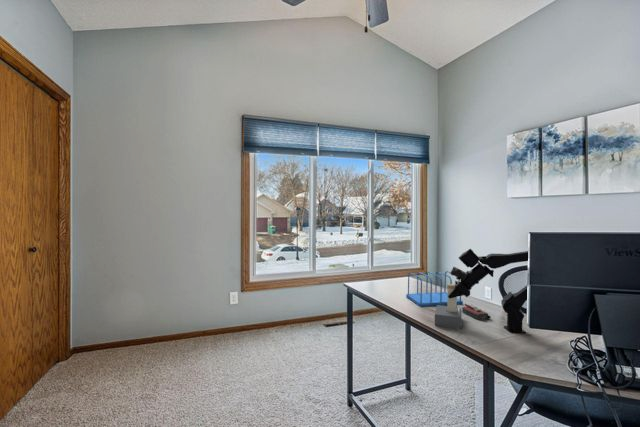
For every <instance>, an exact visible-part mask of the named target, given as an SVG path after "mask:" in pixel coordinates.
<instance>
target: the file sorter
mask: <svg viewBox="0 0 640 427" xmlns="http://www.w3.org/2000/svg"><path fill="white" fill-rule="evenodd" d="M450 272H451V271H448V270H447V271H445V273H443V272H440V271H436V272H435V273H433V272H431V271H428V272H427V273H422V272H420V271H419V272H418V273H417V274H415V273H413V272H409V273H408V275H407V276H408V277H407V278H408V279H407V293H406V295H405V297H406V298H408V299H409V300H410V301H412V302H413V303H415V304H417V305H418V306H419V307H431V306H437V305H441V306H447V292H446V291H447V290H446V287H447V286H446V285H447V282H446V281H447V279H446V278H447V277H448V278H449V280H450V282H449V284H453V283H452V278H451V276H450V275H448V274H447V273H449V274H450ZM438 273H439V274H440V275H444V290H443V283H442V282H443V281H442V280H443V279H442V278H441V276H440V275H438ZM420 274H421V275H423V276H425V277H426V284H425V285H426V286H425V287H426V288H425V291H426V292H423V281H422V278H421V277H420V276H419V275H420ZM428 274H431V275H433V276H435V281H434V283H435V286H434V287H435V289H434V290H435V292H433V281H432V278H431V276H430V275H428ZM410 275H412V276H415V277H416V278H417V279H416V293H410ZM437 278H439V280H440V289H439V290H440V291H439V292H437V286H438V285H437ZM428 279H429V281H430V292H428V287H429V286H428V285H429V284H428ZM419 281H420V293H419ZM442 290H443V291H444V292H442ZM463 303H464V301H463V300H462V296H459V298H458V297H457V305H463Z"/></svg>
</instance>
